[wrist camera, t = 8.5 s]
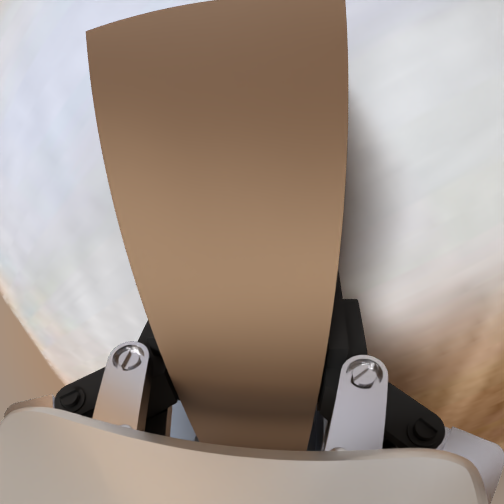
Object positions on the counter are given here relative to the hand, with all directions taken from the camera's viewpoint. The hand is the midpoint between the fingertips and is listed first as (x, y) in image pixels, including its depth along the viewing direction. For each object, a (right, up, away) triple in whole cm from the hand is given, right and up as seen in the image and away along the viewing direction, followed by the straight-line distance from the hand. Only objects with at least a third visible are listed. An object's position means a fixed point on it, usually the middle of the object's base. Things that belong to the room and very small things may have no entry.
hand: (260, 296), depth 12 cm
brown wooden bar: (0, +1, 0) cm, 1 cm away
